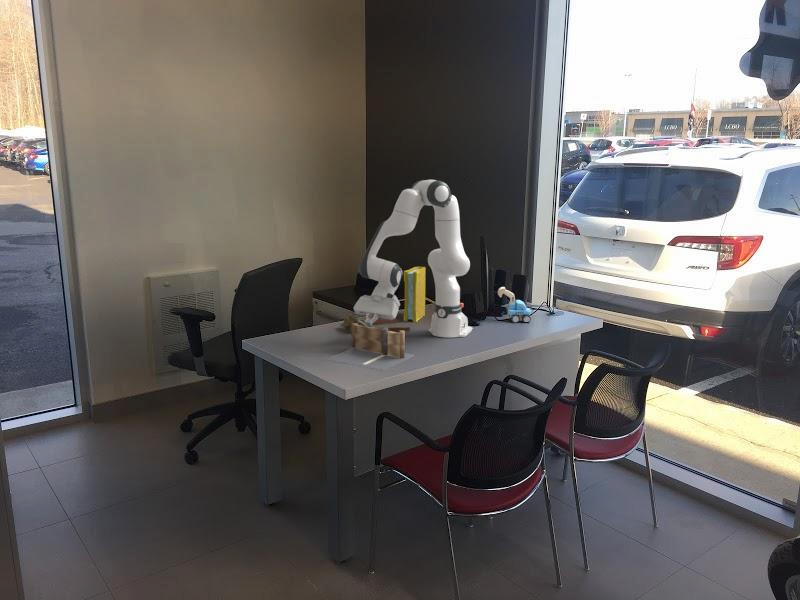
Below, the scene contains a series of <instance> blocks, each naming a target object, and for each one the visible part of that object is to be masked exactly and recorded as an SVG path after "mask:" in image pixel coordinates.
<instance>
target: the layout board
mask: <svg viewBox="0 0 800 600" xmlns="http://www.w3.org/2000/svg"><path fill="white" fill-rule="evenodd" d="M415 356H416V354H411V353H406V352H405V358H400V357H395V356H389V355H382V353H378V352H372V351H366V350H361V349H355V348H353V347H352V348H349V349H347V350H344V351H342V352H340V353H337V354H335V355H332V356H330V357H327V358H325V360H327V361H332V362H337V363H342V364H347V365H352V366H358V367H363V368H367V369H374V370H378V371H382V372H384V371H387V370H388V369H389V370H390V369H391V368H393V367H395V366H397V365H399V364H402V363H403V362H405V361H407V360H409V359H411V358H413V357H415Z"/></svg>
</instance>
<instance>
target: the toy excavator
mask: <svg viewBox="0 0 800 600" xmlns="http://www.w3.org/2000/svg"><path fill="white" fill-rule="evenodd" d="M497 295H498V296H499V298H502V297H503V295H505V296H506V297H508V298H509V303H508V307H507V312H508V316H509V319H510V318H511V319H510V320H511V322H512V323H514V322H517V323H519V322H523V323H524V322H529V323H530V322H531V316H530V314H531V313H532V309H531V308H529V307H527V305H526V304H525V302H524V301H522V300H520V299H516V298H515V297H516V296H515V294H514V293H513V292H511V291H510V290H507V289H506V287H505V286H501V287H499V288H498V289H497Z"/></svg>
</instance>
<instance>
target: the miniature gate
mask: <svg viewBox="0 0 800 600" xmlns="http://www.w3.org/2000/svg"><path fill="white" fill-rule="evenodd" d="M365 321H366V318H356V317H354V316H353V315H352V314H351V313H349V314H348V318H346V316H343V323H340V326H342V327H343V329H345V330H346V331H347V330H348V331H349V332H348V331H347V332H348V333H349V334H351V335H352V323H356V325H361V326H367V327H374V328H380V329H382V328H388V331H391V332H398V333H400V331H405V332H410V330H411V328H410V326H390V327H389V326H386V327H385V326H384V327H383V326H382V327H380V326H379V327H377V326H376V325H377V324H378V325H381V324H383V325H385V324H393V323H396V322H398V318H395V319H393V320H391V319H385V318H378V319H377V320H376V321H375V322H374V323H373V324H375V325H370V324H366V323H365Z"/></svg>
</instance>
